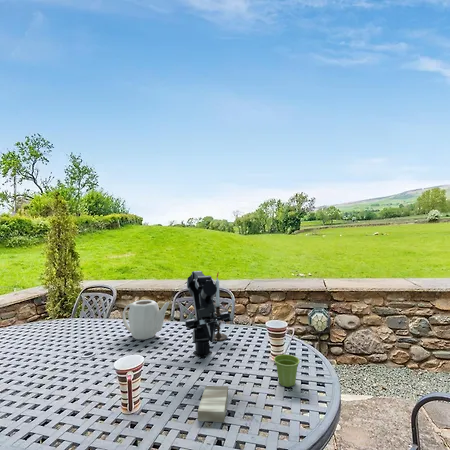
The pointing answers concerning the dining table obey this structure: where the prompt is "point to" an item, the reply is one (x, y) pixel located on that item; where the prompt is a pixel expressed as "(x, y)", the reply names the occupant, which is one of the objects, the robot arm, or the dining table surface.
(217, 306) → the candlestick
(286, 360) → the plant pot
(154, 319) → the white lidless teapot
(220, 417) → the tile
